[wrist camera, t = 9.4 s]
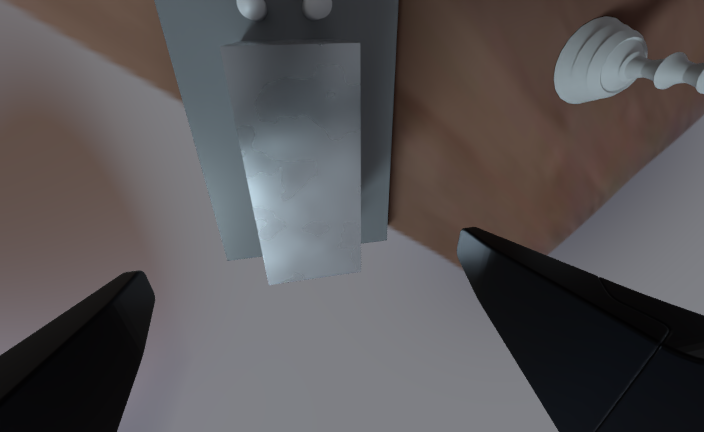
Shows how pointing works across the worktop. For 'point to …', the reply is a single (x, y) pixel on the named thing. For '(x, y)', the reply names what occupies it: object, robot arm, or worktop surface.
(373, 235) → the grey peg plate
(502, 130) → the worktop surface
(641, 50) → the chalice
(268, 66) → the block
